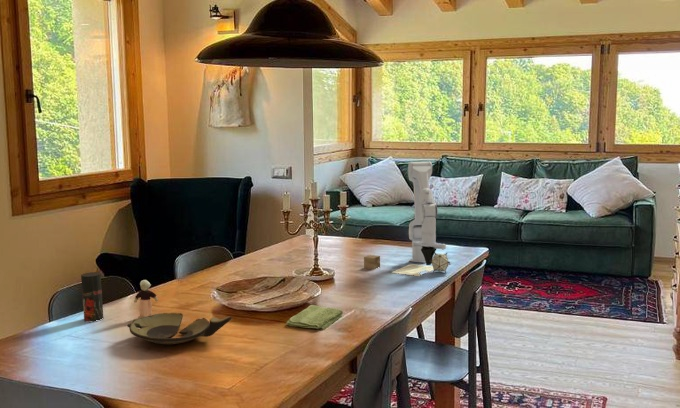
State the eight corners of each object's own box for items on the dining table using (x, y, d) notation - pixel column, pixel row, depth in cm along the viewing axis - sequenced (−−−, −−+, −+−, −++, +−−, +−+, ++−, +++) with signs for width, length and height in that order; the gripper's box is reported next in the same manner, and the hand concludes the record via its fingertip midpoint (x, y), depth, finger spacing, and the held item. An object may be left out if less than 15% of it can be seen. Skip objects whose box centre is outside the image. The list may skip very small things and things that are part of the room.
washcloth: (284, 327, 207) (283, 317, 206) (310, 312, 223) (310, 303, 222) (321, 333, 201) (321, 322, 201) (346, 316, 217) (346, 307, 217)
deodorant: (107, 318, 218) (104, 273, 217) (92, 322, 213) (89, 277, 211) (95, 315, 222) (92, 271, 220) (80, 320, 216) (77, 275, 214)
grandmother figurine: (134, 320, 215) (132, 282, 214) (134, 317, 219) (132, 279, 217) (159, 318, 217) (157, 280, 216) (159, 314, 221) (157, 277, 219)
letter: (411, 264, 289) (411, 263, 289) (438, 267, 282) (438, 267, 282) (391, 272, 274) (391, 272, 274) (419, 276, 267) (419, 276, 267)
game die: (442, 280, 276) (456, 260, 276) (441, 277, 267) (455, 257, 268) (424, 267, 278) (438, 248, 279) (423, 264, 270) (437, 244, 271)
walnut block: (370, 266, 287) (369, 254, 287) (380, 267, 285) (380, 255, 284) (364, 268, 283) (363, 256, 283) (374, 269, 281) (374, 258, 280)
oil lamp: (165, 323, 212) (164, 300, 211) (242, 337, 198) (241, 312, 197) (111, 345, 192) (109, 319, 191) (192, 362, 178) (190, 334, 177)
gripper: (408, 232, 276) (408, 264, 277) (440, 235, 268) (440, 268, 270) (416, 230, 282) (416, 261, 283) (447, 232, 274) (447, 265, 275)
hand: (428, 264), depth 277 cm, fingers closed
